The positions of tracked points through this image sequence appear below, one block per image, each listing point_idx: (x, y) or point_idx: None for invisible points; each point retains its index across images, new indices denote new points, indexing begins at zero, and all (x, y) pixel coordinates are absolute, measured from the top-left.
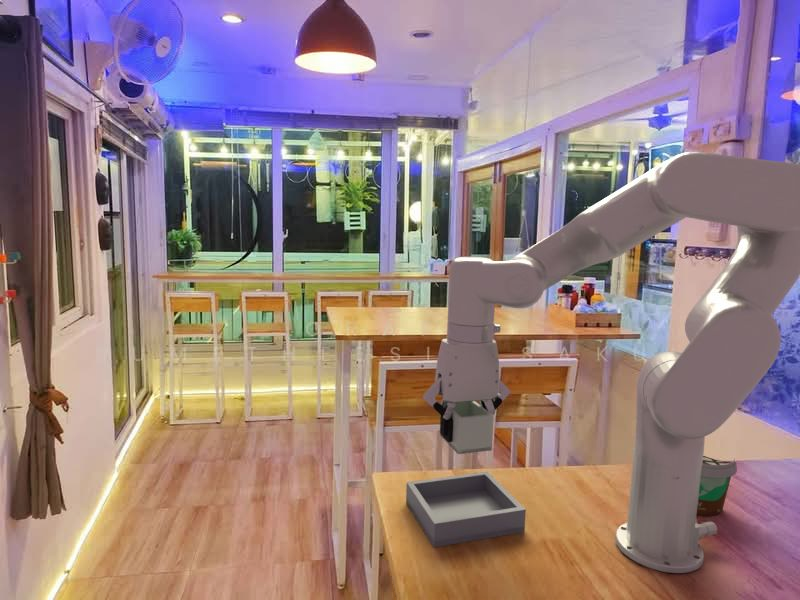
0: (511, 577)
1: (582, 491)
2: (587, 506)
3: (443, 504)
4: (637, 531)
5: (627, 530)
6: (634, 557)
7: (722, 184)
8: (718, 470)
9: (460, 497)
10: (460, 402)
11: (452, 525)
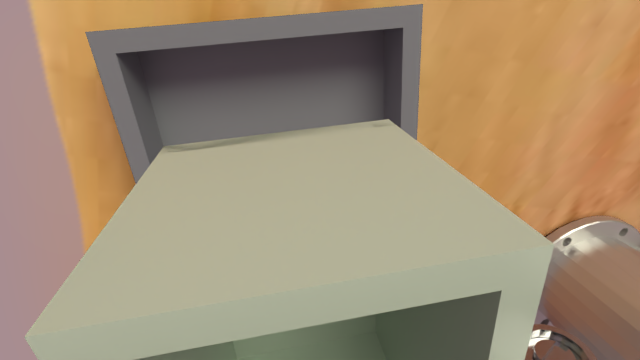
0: None
1: (629, 61)
2: (581, 131)
3: (232, 93)
4: (558, 316)
5: (557, 277)
6: None
7: None
8: None
9: (294, 62)
10: (347, 308)
11: None
